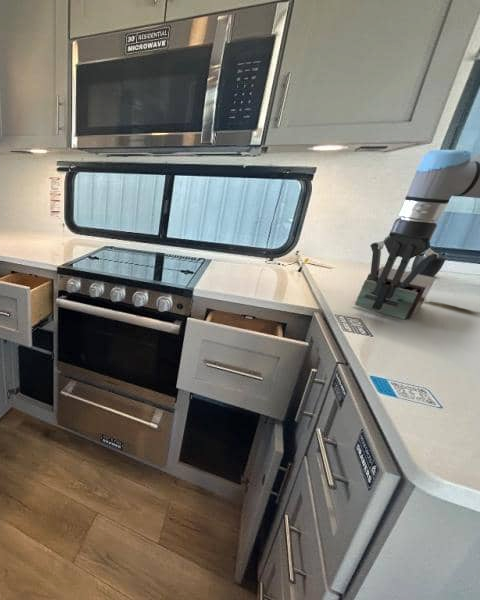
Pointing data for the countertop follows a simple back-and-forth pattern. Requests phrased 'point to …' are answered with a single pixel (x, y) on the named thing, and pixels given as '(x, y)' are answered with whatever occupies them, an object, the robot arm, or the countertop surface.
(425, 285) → the cabinet
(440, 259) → the mug
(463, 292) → the countertop surface
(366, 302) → the drawer
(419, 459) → the countertop surface
